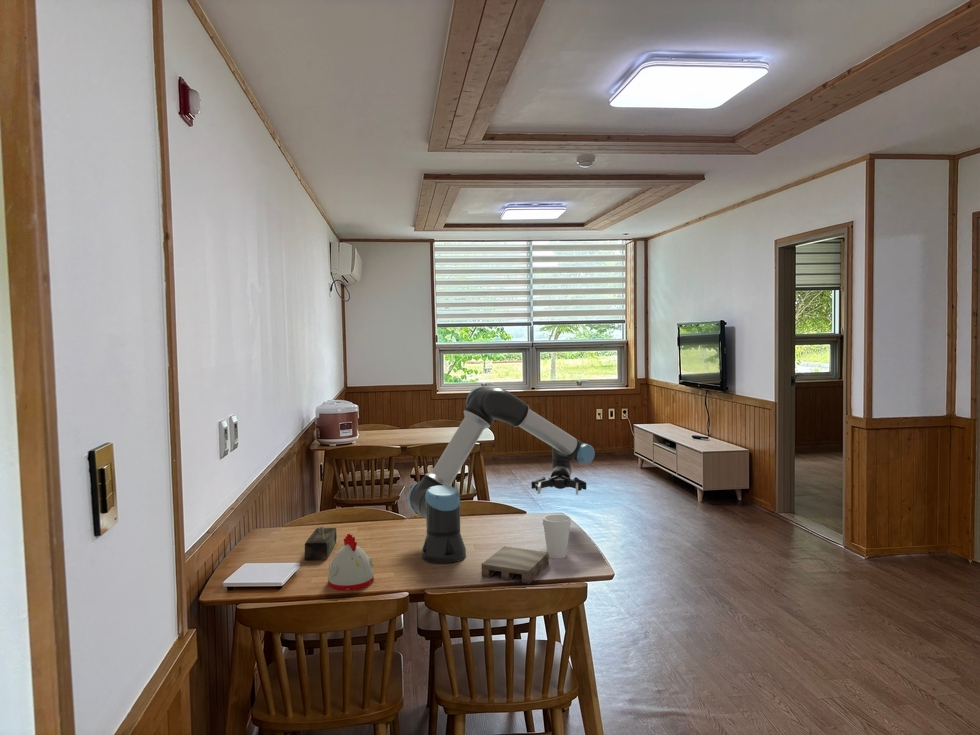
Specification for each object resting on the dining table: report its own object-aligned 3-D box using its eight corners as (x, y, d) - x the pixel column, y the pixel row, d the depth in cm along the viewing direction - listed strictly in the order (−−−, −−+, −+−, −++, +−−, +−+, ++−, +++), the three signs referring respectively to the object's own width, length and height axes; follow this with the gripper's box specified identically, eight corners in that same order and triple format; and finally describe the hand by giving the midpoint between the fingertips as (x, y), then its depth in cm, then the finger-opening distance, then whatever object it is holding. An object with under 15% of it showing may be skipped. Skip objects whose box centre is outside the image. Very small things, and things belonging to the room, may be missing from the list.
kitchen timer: (338, 594, 186) (337, 544, 185) (321, 580, 197) (319, 533, 197) (381, 583, 194) (380, 535, 194) (362, 570, 205) (361, 525, 205)
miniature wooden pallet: (529, 583, 192) (529, 570, 191) (481, 576, 198) (481, 563, 198) (548, 564, 208) (548, 552, 208) (504, 557, 215) (503, 546, 214)
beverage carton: (337, 542, 235) (337, 525, 234) (327, 560, 216) (327, 542, 215) (316, 543, 234) (315, 526, 234) (304, 561, 215) (303, 542, 215)
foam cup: (576, 556, 215) (576, 518, 215) (556, 562, 210) (556, 523, 209) (557, 549, 223) (557, 512, 222) (537, 554, 217) (537, 517, 217)
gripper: (592, 487, 244) (593, 501, 223) (528, 486, 248) (523, 500, 227) (592, 468, 244) (592, 480, 223) (528, 467, 248) (522, 479, 227)
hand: (557, 490), depth 225 cm, fingers open, 13 cm apart
